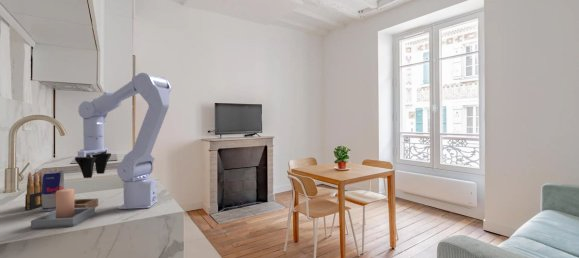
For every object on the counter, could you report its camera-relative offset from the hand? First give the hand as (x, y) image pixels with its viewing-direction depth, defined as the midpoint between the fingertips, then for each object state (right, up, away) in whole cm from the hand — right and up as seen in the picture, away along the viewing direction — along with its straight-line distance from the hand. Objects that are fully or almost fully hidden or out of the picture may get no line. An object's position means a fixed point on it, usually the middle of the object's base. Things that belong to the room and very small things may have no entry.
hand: (94, 175), depth 93 cm
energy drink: (-8, -10, -7) cm, 14 cm away
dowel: (+4, -9, -17) cm, 20 cm away
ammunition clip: (-15, -10, -3) cm, 18 cm away
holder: (+1, -10, -8) cm, 12 cm away
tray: (+5, -10, -17) cm, 20 cm away
